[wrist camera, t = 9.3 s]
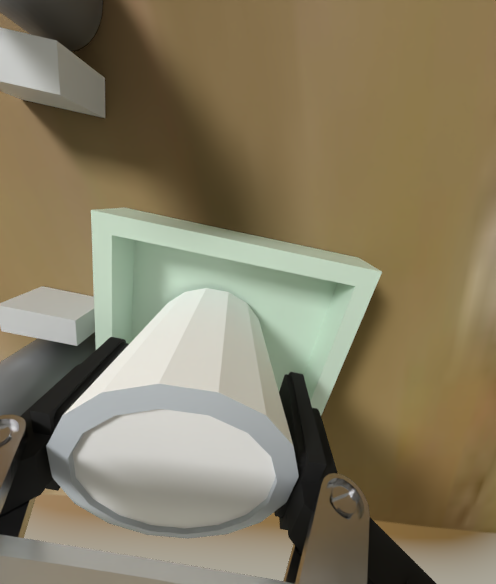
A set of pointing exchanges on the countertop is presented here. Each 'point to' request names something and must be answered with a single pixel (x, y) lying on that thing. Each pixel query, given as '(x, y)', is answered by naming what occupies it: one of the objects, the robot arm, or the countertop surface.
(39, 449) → the robot arm
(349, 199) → the countertop surface
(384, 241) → the countertop surface
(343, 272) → the tray
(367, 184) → the countertop surface
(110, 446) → the white cup
